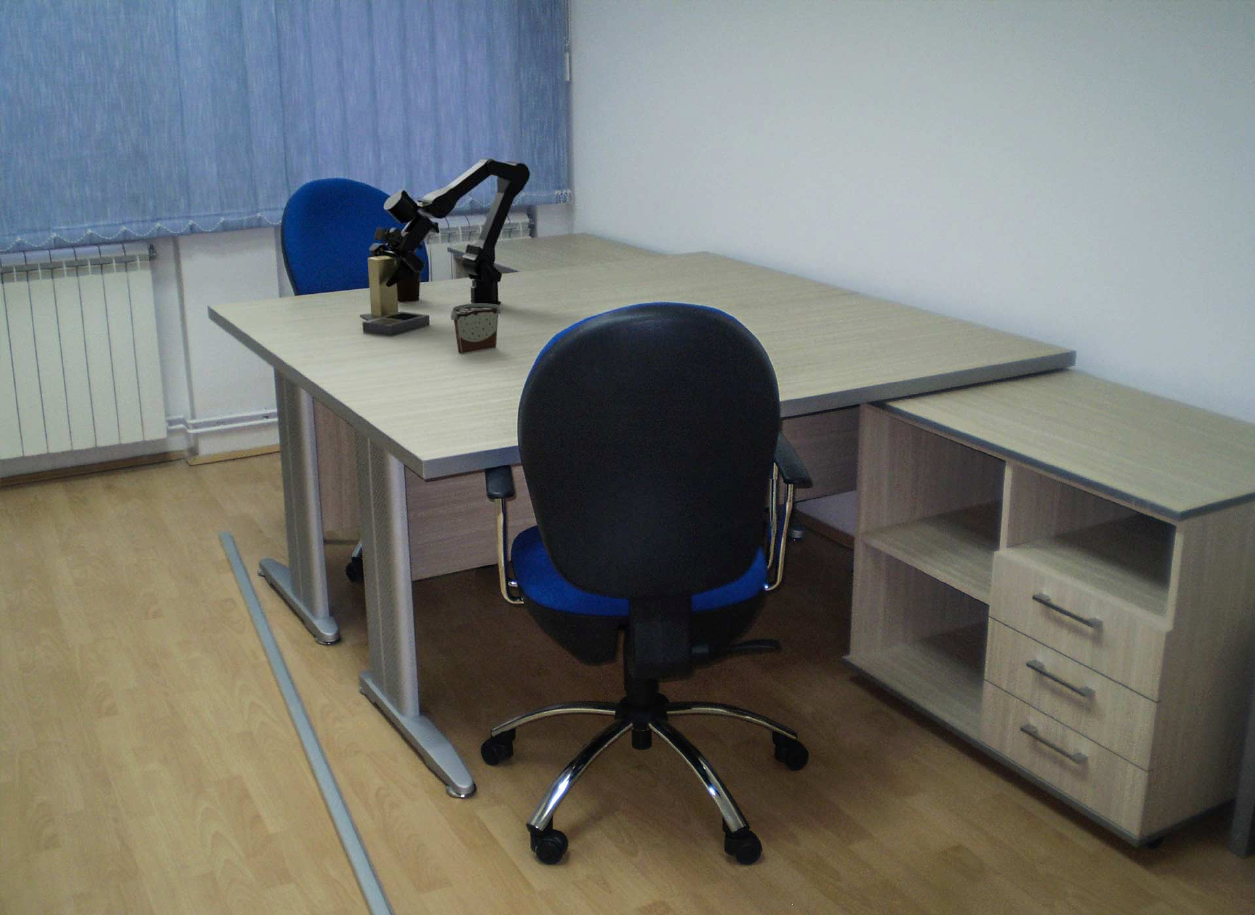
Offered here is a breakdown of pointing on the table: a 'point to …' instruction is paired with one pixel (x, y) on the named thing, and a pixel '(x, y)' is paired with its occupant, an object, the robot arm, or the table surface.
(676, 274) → the table surface
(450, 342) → the table surface
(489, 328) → the food container
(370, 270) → the tan rectangular block
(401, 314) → the grey tray
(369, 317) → the rubber pad
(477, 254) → the robot arm
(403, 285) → the coffee mug
